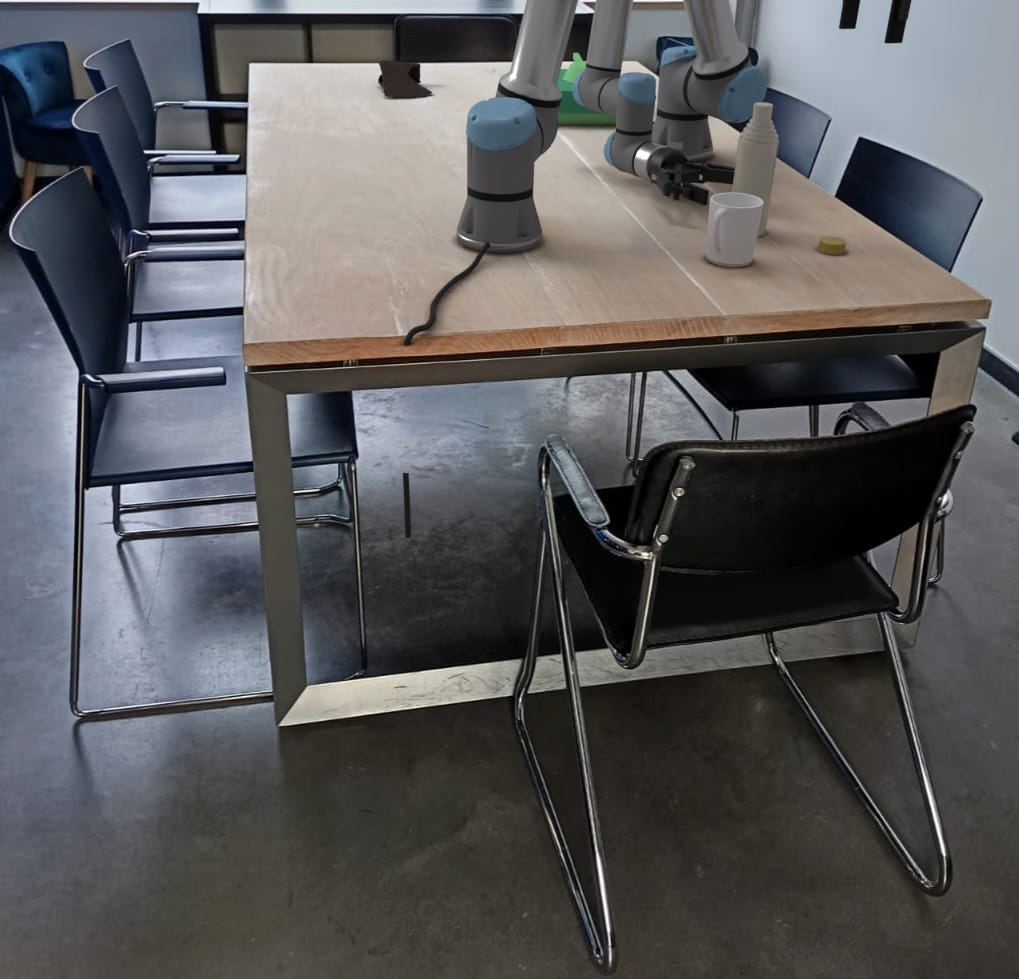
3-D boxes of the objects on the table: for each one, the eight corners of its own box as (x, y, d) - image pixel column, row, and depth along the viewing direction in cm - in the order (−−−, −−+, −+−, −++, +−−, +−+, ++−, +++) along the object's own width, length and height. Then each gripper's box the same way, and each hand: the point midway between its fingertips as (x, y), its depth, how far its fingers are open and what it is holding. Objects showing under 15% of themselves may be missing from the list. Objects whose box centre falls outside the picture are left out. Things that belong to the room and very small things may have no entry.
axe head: (443, 87, 294) (392, 77, 287) (436, 115, 299) (385, 106, 292) (421, 62, 307) (371, 52, 300) (414, 89, 311) (365, 80, 304)
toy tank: (607, 49, 292) (625, 75, 262) (604, 97, 299) (621, 128, 269) (541, 48, 291) (552, 74, 261) (539, 96, 298) (549, 127, 268)
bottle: (766, 227, 205) (784, 101, 194) (764, 238, 200) (783, 110, 188) (728, 223, 207) (744, 98, 195) (725, 235, 201) (741, 107, 189)
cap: (813, 247, 196) (814, 237, 195) (835, 245, 197) (837, 235, 196) (826, 255, 192) (828, 245, 191) (849, 253, 194) (851, 243, 193)
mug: (719, 246, 195) (726, 189, 189) (764, 258, 190) (773, 199, 185) (687, 262, 187) (693, 203, 182) (733, 275, 183) (741, 214, 177)
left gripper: (968, -110, 156) (935, 48, 167) (872, -119, 176) (848, 22, 187) (923, -110, 154) (892, 50, 165) (831, -120, 174) (809, 23, 185)
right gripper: (707, 176, 227) (780, 203, 211) (610, 192, 215) (680, 222, 200) (711, 139, 223) (786, 164, 207) (613, 154, 211) (684, 181, 196)
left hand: (869, 35), depth 176 cm, fingers open, 13 cm apart
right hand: (734, 193), depth 204 cm, fingers open, 13 cm apart
